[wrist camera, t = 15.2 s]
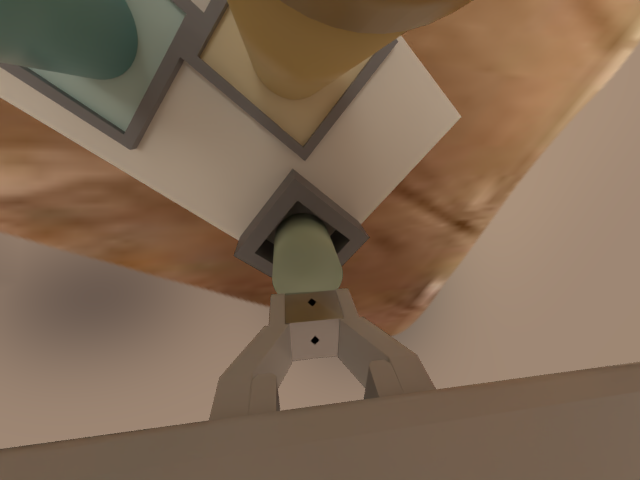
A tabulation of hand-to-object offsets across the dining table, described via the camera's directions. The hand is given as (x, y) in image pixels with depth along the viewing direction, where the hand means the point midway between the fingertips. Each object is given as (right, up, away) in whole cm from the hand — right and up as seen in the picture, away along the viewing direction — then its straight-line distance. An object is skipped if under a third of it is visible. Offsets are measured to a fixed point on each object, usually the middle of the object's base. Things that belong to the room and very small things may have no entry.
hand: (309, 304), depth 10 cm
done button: (-1, +3, +5) cm, 6 cm away
